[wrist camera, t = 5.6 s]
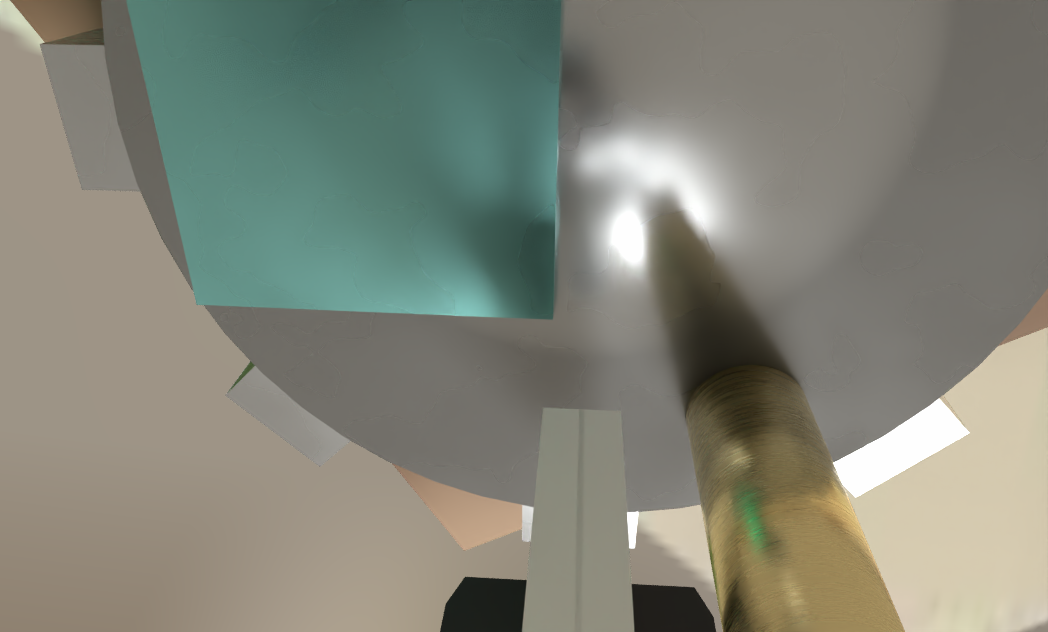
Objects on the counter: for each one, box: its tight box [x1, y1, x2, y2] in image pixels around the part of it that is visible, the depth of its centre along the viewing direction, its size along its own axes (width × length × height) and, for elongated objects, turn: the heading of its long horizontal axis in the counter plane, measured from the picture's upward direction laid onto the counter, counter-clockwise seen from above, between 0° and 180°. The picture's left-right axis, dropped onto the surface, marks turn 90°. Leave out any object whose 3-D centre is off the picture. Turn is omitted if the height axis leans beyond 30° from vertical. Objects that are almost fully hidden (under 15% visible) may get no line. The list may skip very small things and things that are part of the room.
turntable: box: [40, 0, 1048, 632], centre depth 11 cm, size 19×19×8 cm
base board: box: [10, 0, 1048, 551], centre depth 15 cm, size 18×18×1 cm
